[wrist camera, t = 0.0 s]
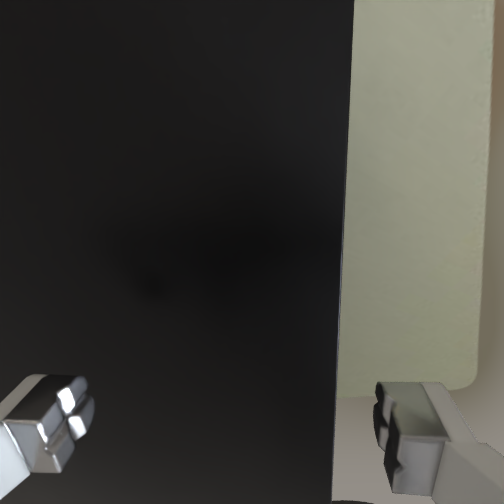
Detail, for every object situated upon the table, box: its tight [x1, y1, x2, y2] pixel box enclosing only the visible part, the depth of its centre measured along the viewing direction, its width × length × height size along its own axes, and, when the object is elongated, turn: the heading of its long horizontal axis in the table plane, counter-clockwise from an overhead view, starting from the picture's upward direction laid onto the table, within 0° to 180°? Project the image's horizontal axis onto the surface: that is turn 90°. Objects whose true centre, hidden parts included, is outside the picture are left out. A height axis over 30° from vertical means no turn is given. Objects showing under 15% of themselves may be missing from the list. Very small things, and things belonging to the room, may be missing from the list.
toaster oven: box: [0, 0, 354, 504], centre depth 26 cm, size 36×27×24 cm
